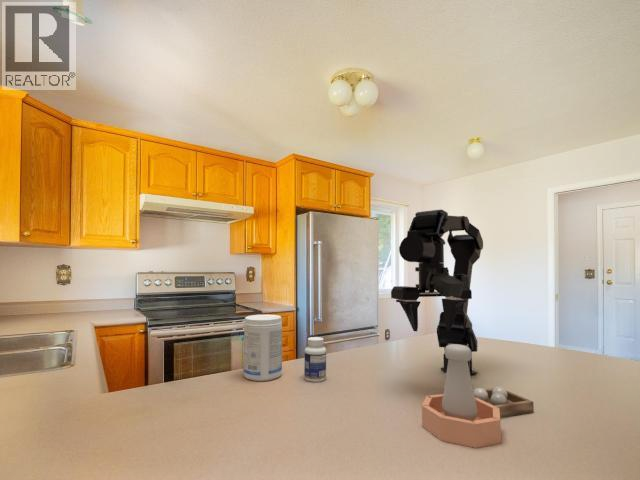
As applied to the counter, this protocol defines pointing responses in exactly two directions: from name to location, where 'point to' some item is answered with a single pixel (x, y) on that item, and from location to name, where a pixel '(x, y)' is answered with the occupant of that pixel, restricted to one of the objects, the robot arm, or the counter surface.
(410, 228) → the robot arm
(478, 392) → the pebble
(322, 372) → the pill bottle
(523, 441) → the counter surface
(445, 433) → the bowl
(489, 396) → the pebble tray
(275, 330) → the supplement tub
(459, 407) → the salt shaker
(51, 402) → the counter surface
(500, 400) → the pebble
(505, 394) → the white ball
